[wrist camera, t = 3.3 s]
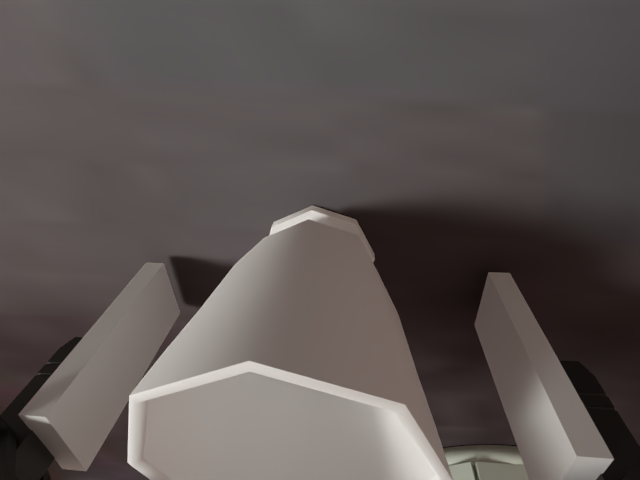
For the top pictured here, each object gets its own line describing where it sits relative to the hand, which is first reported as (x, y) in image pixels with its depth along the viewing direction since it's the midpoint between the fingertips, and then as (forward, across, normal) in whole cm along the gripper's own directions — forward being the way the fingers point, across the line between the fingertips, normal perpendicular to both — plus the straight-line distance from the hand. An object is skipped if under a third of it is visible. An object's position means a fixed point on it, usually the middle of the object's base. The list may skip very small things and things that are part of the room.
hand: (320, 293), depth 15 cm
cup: (+1, 0, 0) cm, 1 cm away
